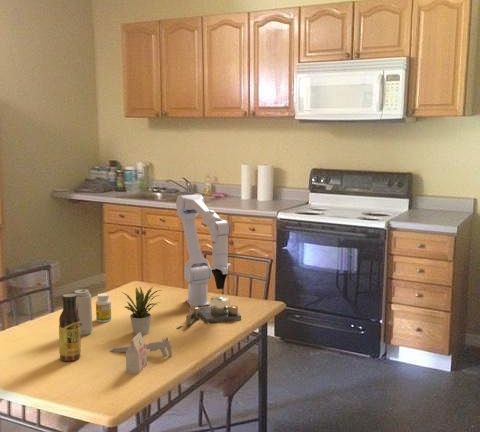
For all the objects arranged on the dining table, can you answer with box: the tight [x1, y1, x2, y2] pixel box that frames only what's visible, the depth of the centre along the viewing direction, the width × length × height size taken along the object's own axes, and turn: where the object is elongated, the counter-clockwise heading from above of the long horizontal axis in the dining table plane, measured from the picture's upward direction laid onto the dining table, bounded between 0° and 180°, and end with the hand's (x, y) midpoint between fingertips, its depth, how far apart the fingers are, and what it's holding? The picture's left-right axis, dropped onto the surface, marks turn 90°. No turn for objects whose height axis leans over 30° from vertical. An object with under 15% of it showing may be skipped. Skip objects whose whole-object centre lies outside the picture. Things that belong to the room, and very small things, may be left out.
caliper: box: [109, 337, 173, 358], centre depth 180 cm, size 20×1×6 cm, turn 77°
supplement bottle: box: [95, 292, 112, 323], centre depth 211 cm, size 5×5×10 cm
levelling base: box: [176, 295, 242, 330], centre depth 213 cm, size 17×25×7 cm
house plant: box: [121, 285, 163, 336], centre depth 197 cm, size 14×14×16 cm
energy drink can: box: [73, 288, 93, 337], centre depth 197 cm, size 6×6×15 cm
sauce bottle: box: [58, 293, 82, 362], centre depth 175 cm, size 6×6×20 cm
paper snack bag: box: [125, 332, 148, 375], centre depth 168 cm, size 4×7×10 cm, turn 169°
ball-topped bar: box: [185, 306, 201, 326], centre depth 209 cm, size 11×4×4 cm, turn 170°
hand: (220, 288), depth 216 cm, fingers closed
